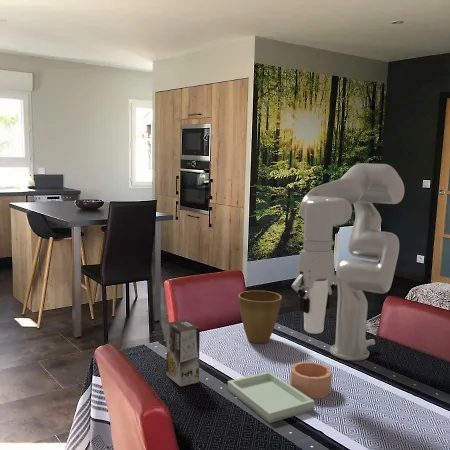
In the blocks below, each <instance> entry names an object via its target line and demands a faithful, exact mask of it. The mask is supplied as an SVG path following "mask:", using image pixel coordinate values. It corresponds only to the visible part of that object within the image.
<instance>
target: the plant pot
mask: <svg viewBox="0 0 450 450" xmlns="http://www.w3.org/2000/svg"><path fill="white" fill-rule="evenodd" d="M282 300H283V299H282V295H280V293H277V292H273V291H267V290H246V291H242V292H240V293H239V294H238V302H239V310H240V316H241V322H242V325H243V328H244V333H245V336H246V338H247V341H249V342H250V343H252V344H253V343H254V344H266V343H268V342H270V341H269V340H270V339H271V336H272V334H273V331H274V330H275V326H276V323H277V319H278V316H279V312H280V308H281V303H282Z"/></svg>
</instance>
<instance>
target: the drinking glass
mask: <svg viewBox="0 0 450 450" xmlns="http://www.w3.org/2000/svg"><path fill="white" fill-rule="evenodd" d="M304 286H305V283H304ZM305 291H306V289H305V288H304V293H305ZM327 296H328V279H327V280H325V281H314V284H313V287H312V288H311V289H310V293H309V296H308V299H309V300H310V304H309V313H305V312H303V330H304V331H305V332H307V333H309V334H312V335H313V334H321V333H322V332H323V331H324V329H325V327H324V326H325V318H326V311H327V309H326V304H327Z"/></svg>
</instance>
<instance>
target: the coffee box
mask: <svg viewBox="0 0 450 450" xmlns="http://www.w3.org/2000/svg"><path fill="white" fill-rule="evenodd" d="M200 330H201V328H200V326H197V325H196V324H194V323H192V322H191V321H189V320H187V319H178V320H175V321H170V322H166V376H167V377H168V378H170V379H171V381H172V382H174V384H175V383H176V384H177V386H179V387H184V386H188V385H192V384H197V383H198V384H199V382H200V344H201V342H200V341H201V340H200V337H201V336H200V334H201V331H200Z"/></svg>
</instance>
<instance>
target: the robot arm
mask: <svg viewBox="0 0 450 450" xmlns="http://www.w3.org/2000/svg"><path fill="white" fill-rule="evenodd" d="M404 195H405V185H404V181H403V180H402V178H401V176H400V175H399V174H398V171H396V169H395V168H394V167H392V166H391V165H389V164H387V163H367V162H366V163H365V162H363V163H357V164H354V165H352V167H350V168H349V169H348V170H347V171H346V172H345V173H344V174H343V175H342V176H341V177H340V178H339V179H336V180H332V181H329V182H326V183H323V184H320V185H318V186H315V187H313V188H312V189H311V190H309V192H307V194H305V195H304V197H303V198H302V199H301V202H300V205H299V214H300V217H301V218H302V220H304V224H303V226H304V227H303V248H302V249H301V250H300V253H299V255H298V260H297V267H296V276H295V277H296V278H295V280H294V281H293V283H292V284H291V289H293V290H294V292H295V293H296V294H297V295H298V297H299V298H300V299H299V311H301V312H303V313H304V312H305V313H309V304H310V300H309V299H308V296H309V293H310V289H311V288H312V287H313V284H314V281H325V280H327V279H328V296H327V304H326V310H330V303H331V302H330V301H331V299H330V298H331V296H332V294H333V291H334V289H335V288H336V286H337V308H336V309H337V310H336V323H335V324H336V325H335V340H334V341H335V343H334V344H333V345H331V346H330V348H329V352H330V354H331V355H333V356H334V357H336V358H338V359H341V360H345V361H356V362H357V361H363V360H366V359H368V358H369V357H370V351H369V349H368V347H370V346H374V345H375V344H376V341H375V339H374V338H371V339H368V340H367V338H366V337H367V336H366V332H367V319H368V308H369V307H368V305H369V304H368V300H367V298H366V296H365V293H364V292H369V293H370V292H371V293H376V294H386V293H388V291H390V289H391V287H392V283H393V279H394V275H395V271H396V267H397V261H398V258H399V253H400V240H399V237H398V236H397V234H395V233H393V232H389V231H380V229H381V225H382V217H381V215H380V212H379V211H378V210H377V208H376V207H375V206H374V204H373V203H375V204H387V205H391V204H392V205H397V204H399V203H400V202H402V200H403V199H404ZM352 204H353V207H352ZM353 208H354V212H355V215H354V216H355V218H354V222H353V226H352V230H351V233H350V237H349V241H348V248H347V251H348V253H349V254H350V255H351V256H352V257H355V258H345V259H342V260H340V262H339V263H338V264H337V267H336V269H335V257H334V256H335V255H334V251H333V249H332V248H333V245H334V244H335V241H334V240H333V228H334V227H333V226H336V225H337V226H342V225H344V224H346V223H348V221H349V220H350V219H351V217H352V214H353V213H352V212H353ZM356 258H358V259H356ZM364 259H365V260H364ZM369 260H372V261H369ZM377 261H379V262H377ZM335 270H336V271H335ZM304 283H305V286H304ZM304 288H305V289H306V291H305V293H304Z"/></svg>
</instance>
